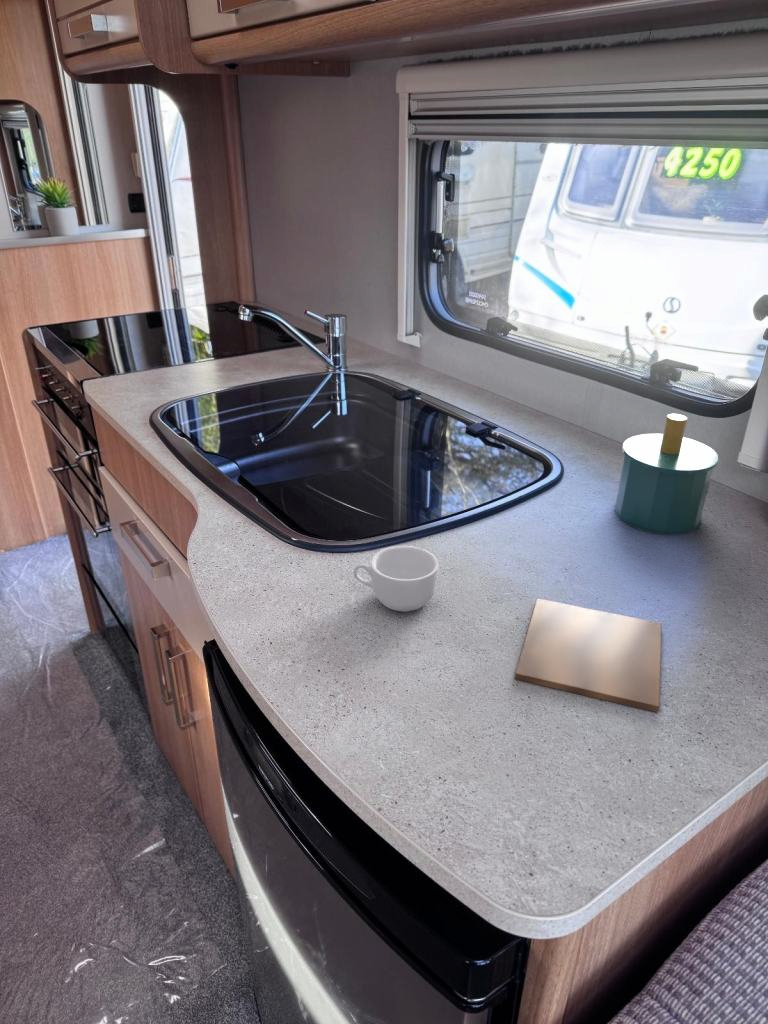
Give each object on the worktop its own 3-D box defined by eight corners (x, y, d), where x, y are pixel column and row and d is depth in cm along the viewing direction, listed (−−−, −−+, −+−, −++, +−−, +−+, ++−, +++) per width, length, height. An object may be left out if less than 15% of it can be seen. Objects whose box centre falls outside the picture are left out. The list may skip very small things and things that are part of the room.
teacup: (440, 586, 89) (442, 549, 86) (431, 624, 82) (433, 585, 79) (361, 576, 90) (361, 539, 88) (346, 613, 84) (345, 574, 81)
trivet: (660, 628, 82) (661, 622, 81) (658, 712, 70) (659, 706, 70) (536, 603, 86) (536, 597, 85) (514, 679, 74) (515, 673, 74)
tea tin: (697, 503, 108) (712, 445, 104) (700, 540, 99) (715, 478, 94) (617, 491, 112) (627, 434, 107) (612, 526, 102) (623, 465, 97)
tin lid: (714, 448, 104) (724, 407, 101) (719, 484, 94) (730, 440, 91) (623, 436, 108) (631, 396, 105) (618, 470, 97) (626, 427, 94)
